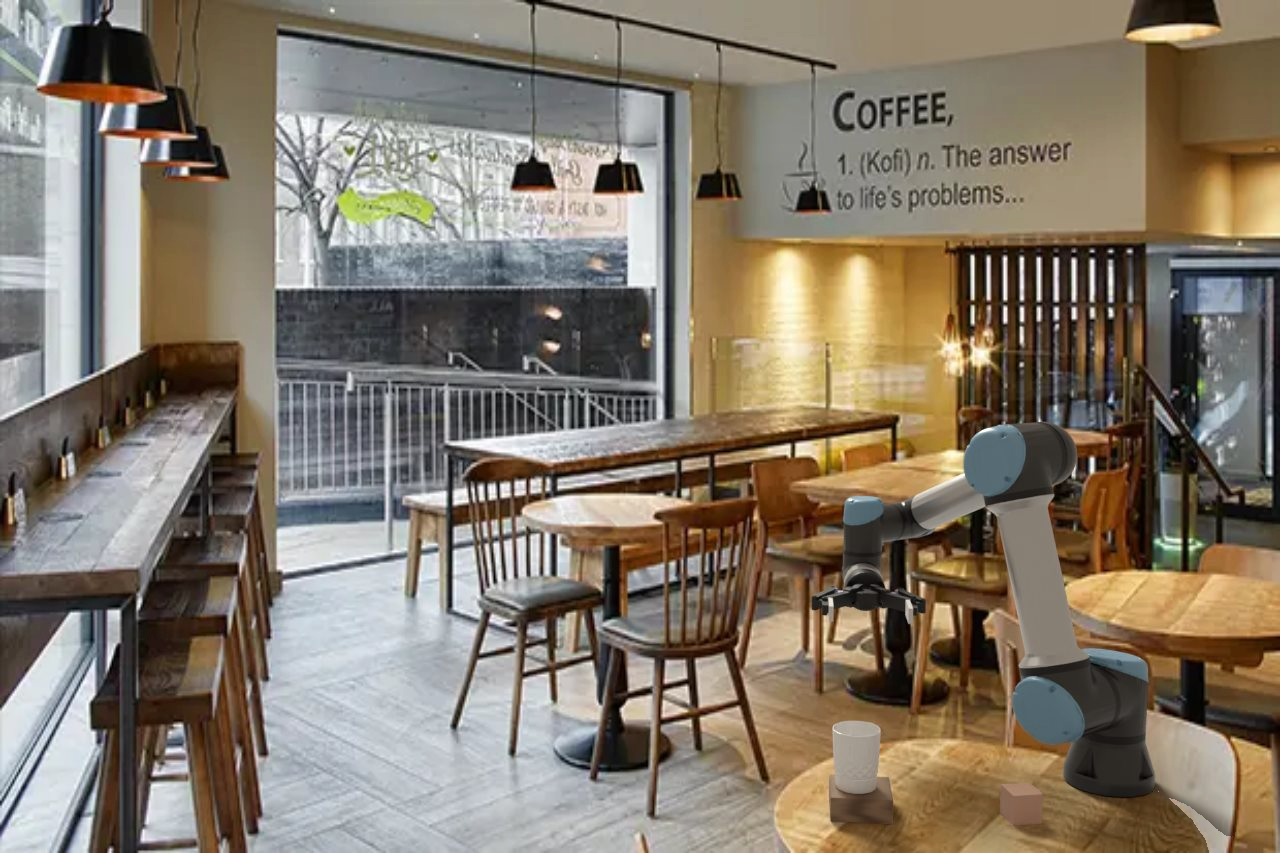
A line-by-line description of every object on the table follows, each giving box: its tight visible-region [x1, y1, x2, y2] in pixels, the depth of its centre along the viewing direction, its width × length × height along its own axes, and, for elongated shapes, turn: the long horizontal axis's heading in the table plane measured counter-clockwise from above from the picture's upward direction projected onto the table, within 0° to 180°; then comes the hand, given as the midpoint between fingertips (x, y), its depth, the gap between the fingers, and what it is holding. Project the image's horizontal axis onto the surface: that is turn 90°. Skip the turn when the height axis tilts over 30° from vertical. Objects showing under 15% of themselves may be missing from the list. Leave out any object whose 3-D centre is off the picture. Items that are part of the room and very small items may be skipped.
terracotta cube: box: [999, 782, 1044, 826], centre depth 208 cm, size 5×5×5 cm
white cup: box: [832, 720, 882, 794], centre depth 211 cm, size 8×8×10 cm
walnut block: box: [828, 774, 894, 825], centre depth 212 cm, size 10×10×4 cm
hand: (870, 615), depth 221 cm, fingers open, 13 cm apart
